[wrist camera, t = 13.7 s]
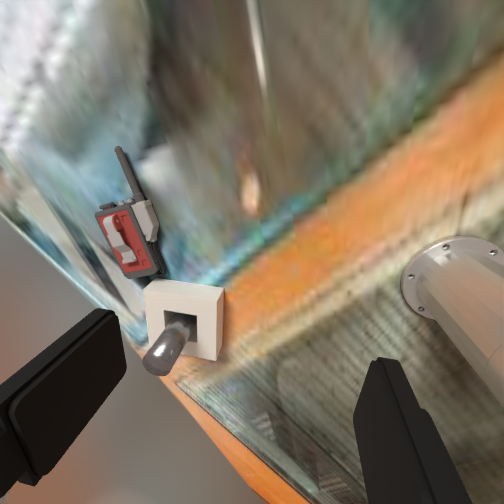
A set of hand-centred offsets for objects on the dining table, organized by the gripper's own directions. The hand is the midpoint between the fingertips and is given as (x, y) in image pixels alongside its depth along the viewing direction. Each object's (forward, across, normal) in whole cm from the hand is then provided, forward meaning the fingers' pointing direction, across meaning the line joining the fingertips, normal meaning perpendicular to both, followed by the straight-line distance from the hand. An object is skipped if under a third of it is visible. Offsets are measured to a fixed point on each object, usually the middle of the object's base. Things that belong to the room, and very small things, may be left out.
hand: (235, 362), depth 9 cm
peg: (+28, +14, +21) cm, 38 cm away
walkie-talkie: (+29, +23, +5) cm, 37 cm away
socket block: (+28, +14, +21) cm, 38 cm away
